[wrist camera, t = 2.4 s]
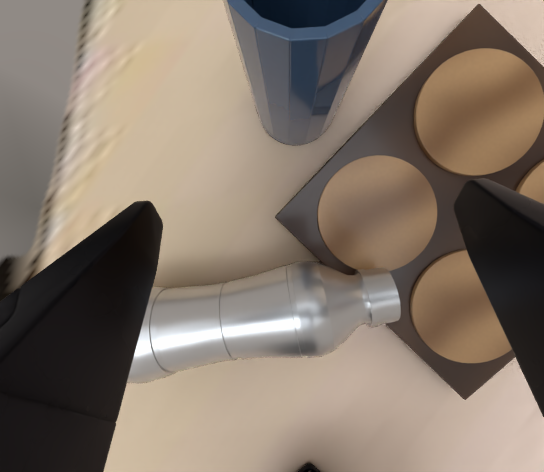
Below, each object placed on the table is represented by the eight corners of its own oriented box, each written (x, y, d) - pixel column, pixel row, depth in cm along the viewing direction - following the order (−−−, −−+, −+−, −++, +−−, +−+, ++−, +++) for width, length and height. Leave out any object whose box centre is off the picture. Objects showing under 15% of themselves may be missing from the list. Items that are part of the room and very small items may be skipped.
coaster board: (658, 208, 19) (698, 208, 18) (453, 387, 21) (469, 404, 20) (464, 19, 19) (483, -3, 17) (275, 216, 21) (274, 217, 19)
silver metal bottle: (106, 275, 20) (374, 225, 18) (149, 326, 24) (371, 289, 22) (55, 358, 15) (419, 299, 13) (120, 405, 19) (405, 365, 17)
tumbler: (351, 103, 20) (452, -77, 8) (296, 161, 21) (309, 81, 8) (295, 48, 20) (306, -220, 8) (242, 108, 21) (172, -52, 8)
